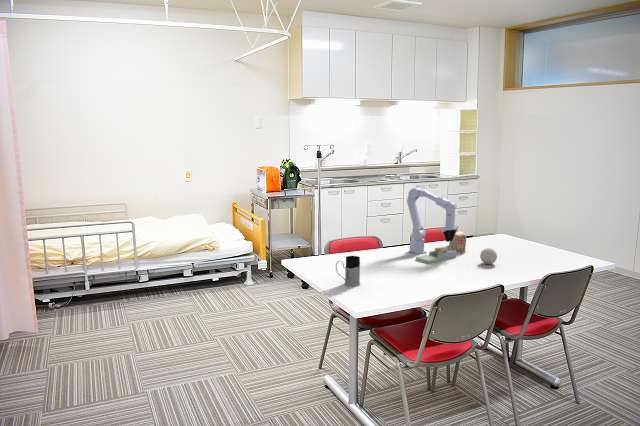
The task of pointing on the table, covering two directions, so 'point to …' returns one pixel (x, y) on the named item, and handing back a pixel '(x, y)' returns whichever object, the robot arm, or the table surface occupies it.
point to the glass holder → (351, 271)
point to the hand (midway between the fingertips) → (449, 241)
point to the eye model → (488, 256)
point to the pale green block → (436, 257)
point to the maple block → (439, 250)
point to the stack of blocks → (458, 242)
